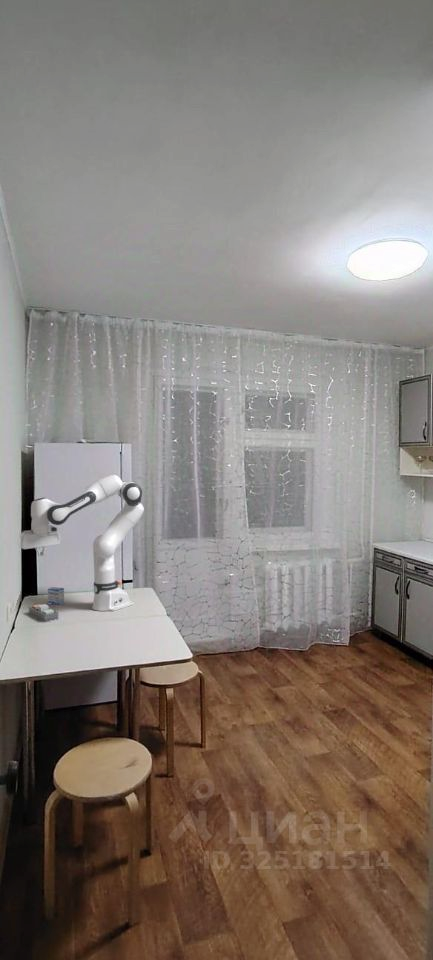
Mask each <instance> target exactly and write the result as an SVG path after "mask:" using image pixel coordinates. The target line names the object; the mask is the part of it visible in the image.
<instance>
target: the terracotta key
mask: <svg viewBox="0 0 433 960" xmlns="http://www.w3.org/2000/svg"><path fill="white" fill-rule="evenodd" d="M39 605H41V603H38V604H34V605H32V606H33V609H38V606H39Z"/></svg>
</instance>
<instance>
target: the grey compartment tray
mask: <svg viewBox="0 0 433 960" xmlns="http://www.w3.org/2000/svg"><path fill="white" fill-rule="evenodd" d="M40 604H41V603H40ZM41 605H43V604H41ZM49 609H51V610H53V611H54V613H51V614H47V615H45V614H43V611H42V612H39V611H38V609H33V605H32V606H28V614H29V613H30V614H29V615H31V616H33V617H34V618H36V619H38V618H39V619H38V620H40V621H42V622H44V623H47V622H46V621H48V622H51V621H50V620H52V621H56V620H59V612H58V611H56V610H54V609H53V608H51V607H49ZM55 619H56V620H55Z"/></svg>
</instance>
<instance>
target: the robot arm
mask: <svg viewBox="0 0 433 960" xmlns="http://www.w3.org/2000/svg"><path fill="white" fill-rule="evenodd" d="M113 496H118V497H120V498H121V499H122V500H123V501H124V506H123V508H122V509H121V510H120V511H119V512H118V513H117V514H116V515H115V517H114V518H113V520H111V522H110V523H109V525H108V526H107V527H106V529H105V531H104V532H103V533H102V534H101V535H100V534H99V535H98V536H96V537H95V538H94V540H93V543H92V550H93V551H92V552H93V571H94V573H93V575H94V577H93V578H94V581H93V593H94V595H93V602H92V607H91V609H92V610H94V611H99V612H100V611H101V612H103V611H111V612H115V611H118V610H121V609H124V608H127V607H130V606H133V605H134V601H132V600H131V599H130V596H129V594H128V592H127V591H126V590H124V589H122V588H121V587H119V586H122V581H120V580H116V565H115V552H116V551H117V549H119V547H120V546H121V544H122V542H123V541H124V539H125V538H126V537H127V535H129V532H131V530H132V529H133V528H134V527H135V525H136V524H137V523H138V522H139V520H140V519H141V517H142V515H143V513H144V512H145V508H144V506H143V503H141V501H142V498H143V497H142V496H143V490H142V488H141V486H140V485H139V484H138V483H136V482H133V481H123V480H122V479H121V478H120V477H119V476H118V475H116V474H111V475H108V476H105V477H102V478H100V479H98V480H96V481H94V482H92V483H90V485H88V486H87V487H86V488H85V490H84V491H83V493H82V494H80V495H79V496H78V497H76V498H73V499H72V500H70V501H68V502H66V503H64V504H61V503H59V502H58V503H57V502H55V501H53V500H50V499H48V498H47V497H39V498H36V499H34V500H33V501H32V502H31V506H30V517H31V524H30V525H31V526H30V527H31V529H30V530H23V531H22V532H21V533H20V548H21V549H22V550H28V549H35V551H36V553H37V556H38V557H42V556H45V555H46V554H45V552H46V550H47V547H52V546H53V547H54V546H60V545H61V533H60V531H59V530H60V529H59V527H58V526H60V525H63V524H64V523H65V522H67V520H68V519H69V518H70V517H71V516H72V515H73V514H75V513H77V512H79V511H81V510H82V509H84V508H86V507H89V506H91V505H94V504H98V503H101V502H103V501H106V500H107V499H109V498H111V497H113ZM50 524H52V525H50ZM54 525H55V526H54ZM56 526H57V527H56ZM40 548H42V550H41V551H40Z"/></svg>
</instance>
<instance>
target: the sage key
mask: <svg viewBox="0 0 433 960" xmlns="http://www.w3.org/2000/svg"><path fill="white" fill-rule="evenodd" d="M51 609H52V608H51ZM51 609H49V610H45V611H43V614H45V615H47V614H51V613H54V611H53V610H54V609H53V610H51Z"/></svg>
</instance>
